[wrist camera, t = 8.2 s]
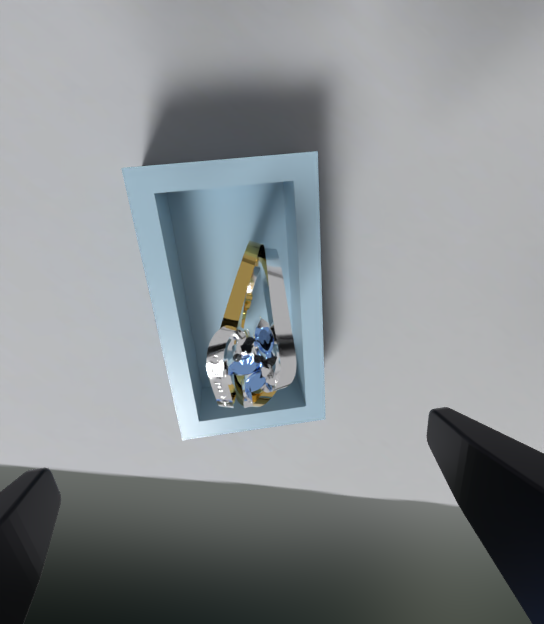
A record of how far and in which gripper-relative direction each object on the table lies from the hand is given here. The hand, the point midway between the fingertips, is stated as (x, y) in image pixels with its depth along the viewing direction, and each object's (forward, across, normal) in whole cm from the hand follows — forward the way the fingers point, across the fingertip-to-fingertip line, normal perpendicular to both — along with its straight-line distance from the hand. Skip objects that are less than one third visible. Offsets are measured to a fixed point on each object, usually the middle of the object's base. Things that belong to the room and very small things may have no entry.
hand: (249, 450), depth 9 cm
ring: (+12, 0, 0) cm, 12 cm away
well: (+12, 0, 0) cm, 12 cm away
